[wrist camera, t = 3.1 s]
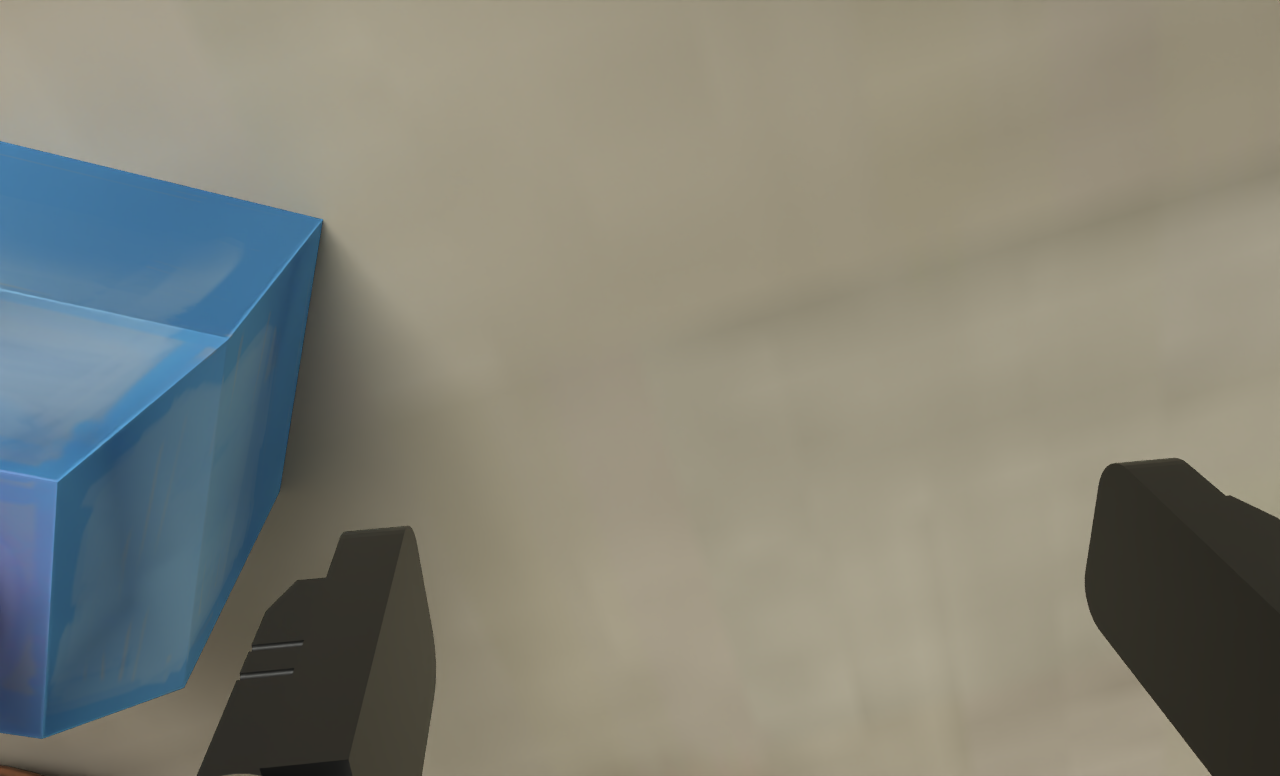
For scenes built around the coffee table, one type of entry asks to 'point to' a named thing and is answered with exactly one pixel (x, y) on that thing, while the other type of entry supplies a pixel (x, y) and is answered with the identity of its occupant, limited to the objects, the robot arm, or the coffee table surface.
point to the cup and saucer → (15, 772)
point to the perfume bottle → (133, 424)
